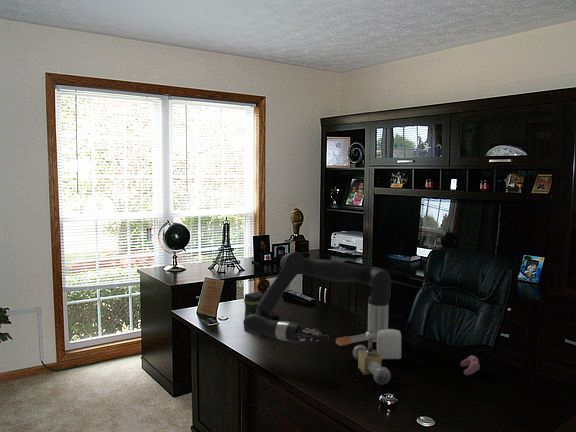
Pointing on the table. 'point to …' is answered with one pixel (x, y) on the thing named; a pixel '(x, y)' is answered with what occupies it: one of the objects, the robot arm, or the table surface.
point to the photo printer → (389, 344)
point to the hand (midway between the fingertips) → (328, 338)
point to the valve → (371, 363)
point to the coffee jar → (252, 303)
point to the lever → (355, 338)
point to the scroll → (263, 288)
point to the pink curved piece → (470, 365)
